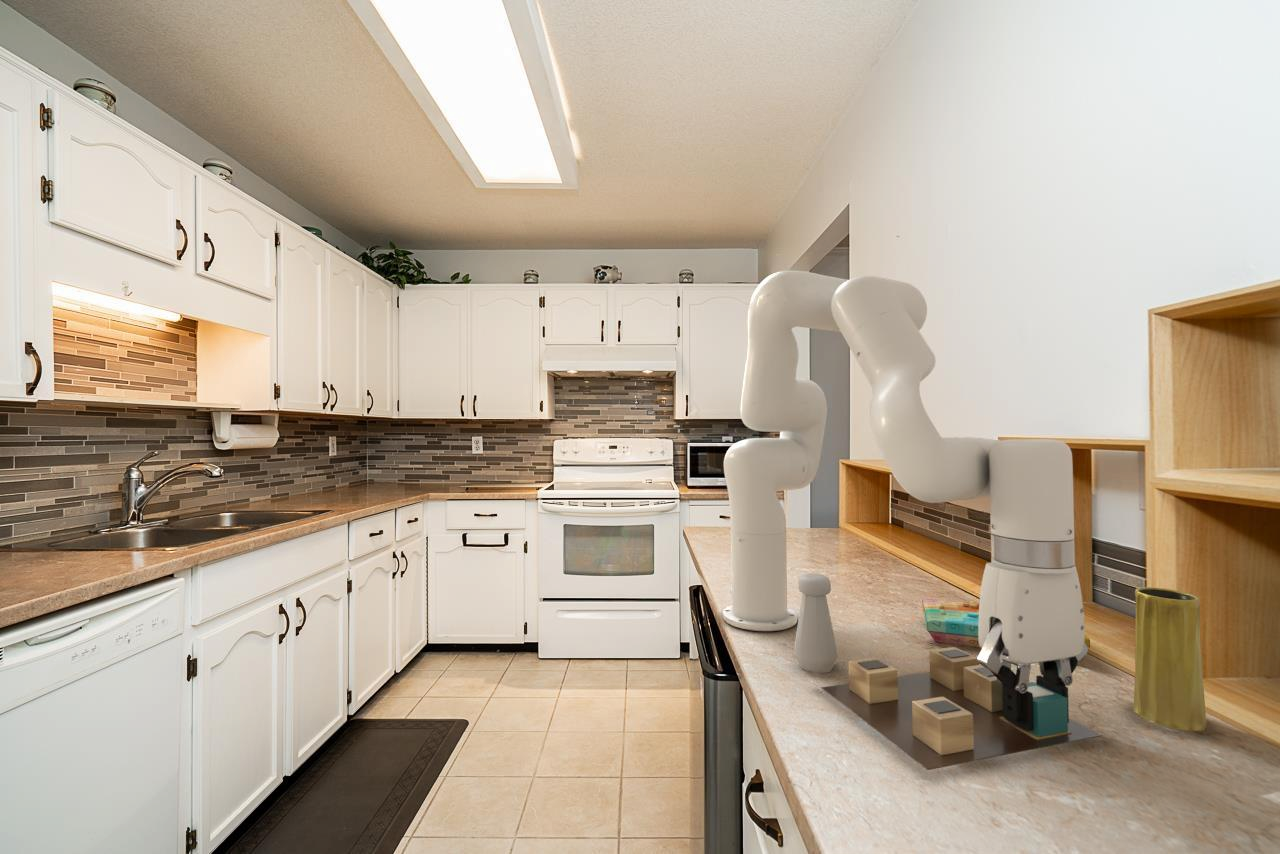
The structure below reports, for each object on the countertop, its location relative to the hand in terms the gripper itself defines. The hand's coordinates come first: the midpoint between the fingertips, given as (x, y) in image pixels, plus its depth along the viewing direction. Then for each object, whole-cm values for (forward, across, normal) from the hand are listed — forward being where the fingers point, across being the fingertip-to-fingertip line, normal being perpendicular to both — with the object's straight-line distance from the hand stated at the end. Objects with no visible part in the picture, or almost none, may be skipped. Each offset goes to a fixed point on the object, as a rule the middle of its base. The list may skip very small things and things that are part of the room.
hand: (1035, 719), depth 61 cm
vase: (+1, -16, +2) cm, 16 cm away
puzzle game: (+1, -18, -22) cm, 28 cm away
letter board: (+1, +6, -6) cm, 8 cm away
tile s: (+1, 0, 0) cm, 1 cm away
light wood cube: (+1, +12, -11) cm, 16 cm away
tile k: (+1, +12, 0) cm, 12 cm away
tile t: (+1, 0, -6) cm, 6 cm away
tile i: (+1, 0, -11) cm, 11 cm away
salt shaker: (+1, +14, -21) cm, 25 cm away
